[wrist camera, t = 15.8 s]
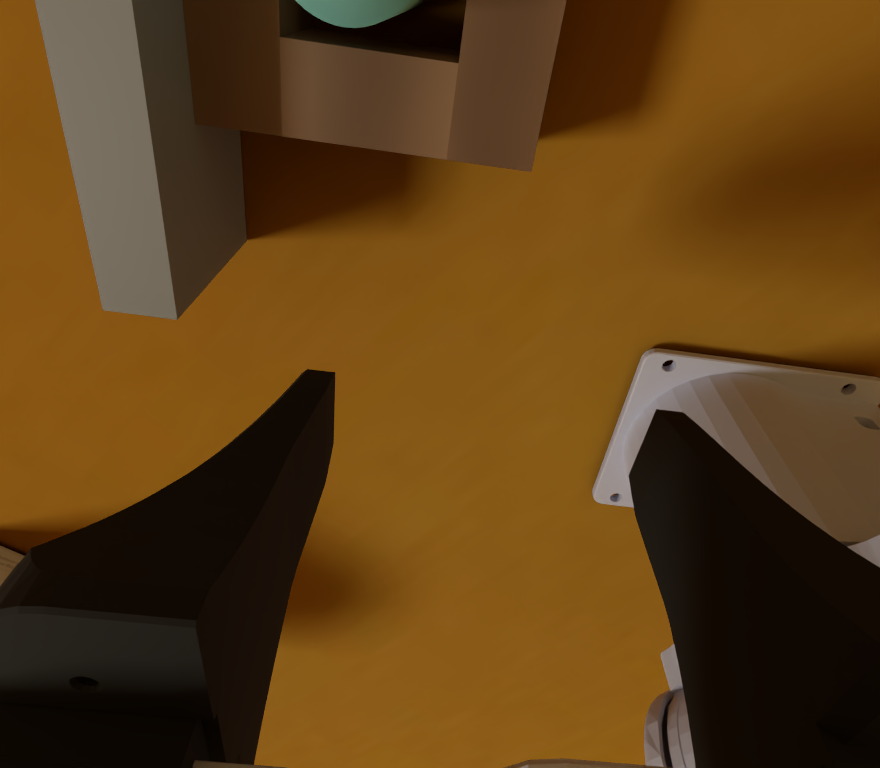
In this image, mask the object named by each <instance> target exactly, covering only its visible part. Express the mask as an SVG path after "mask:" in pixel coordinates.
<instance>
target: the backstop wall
mask: <svg viewBox="0 0 880 768" xmlns="http://www.w3.org/2000/svg"><path fill="white" fill-rule="evenodd" d="M35 3H36V8H37V12H38V17H39V21H40V26H41V30H42V35H43V39H44V44H45V49H46V53H47V58H48V62H49V67H50V71H51V76H52V80H53V85H54V89H55V94H56V99H57V103H58V108H59V112H60V117H61V121H62V126H63V130H64V135H65V140H66V144H67V149H68V153H69V158H70V162H71V167H72V171H73V176H74V180H75V185H76V190H77V194H78V199H79V203H80V208H81V212H82V217H83V221H84V226H85V230H86V235H87V240H88V244H89V249H90V253H91V258H92V262H93V267H94V271H95V276H96V280H97V285H98V290H99V294H100V299H101V303H102V308H103V310H106V311H114V312H122V313H129V314H137V315H145V316H153V317H160V318H168V319H176V320H177V319H178V318H179V317H180V316H181V315H182V314H183V313H184V311H185V310H186V309H187V308H188V307H189V306H190V305H191V303H192V302H193V301H194V300H195V299H196V298H197V297H198V296H199V294H200V293H201V292H202V291H203V290H204V289H205V288H206V286H207V285H208V284H209V283H210V282H211V281H212V280H213V278H214V277H215V276H216V275H217V274H218V273H219V272H220V271H221V269H222V268H223V267H224V266H225V265H226V264H227V263H228V261H229V260H230V259H231V258H232V257H233V256H234V255H235V253H236V252H237V251H238V250H239V249H240V248H241V247H242V246H243V244H244V243H245V242H246V241H247V234H246V218H245V202H244V186H243V170H242V154H241V138H240V130H233V129H226V128H219V127H212V126H205V125H198V124H195V119H194V109H193V99H192V89H191V79H190V69H189V59H188V49H187V39H186V29H185V19H184V9H183V0H35Z"/></svg>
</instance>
